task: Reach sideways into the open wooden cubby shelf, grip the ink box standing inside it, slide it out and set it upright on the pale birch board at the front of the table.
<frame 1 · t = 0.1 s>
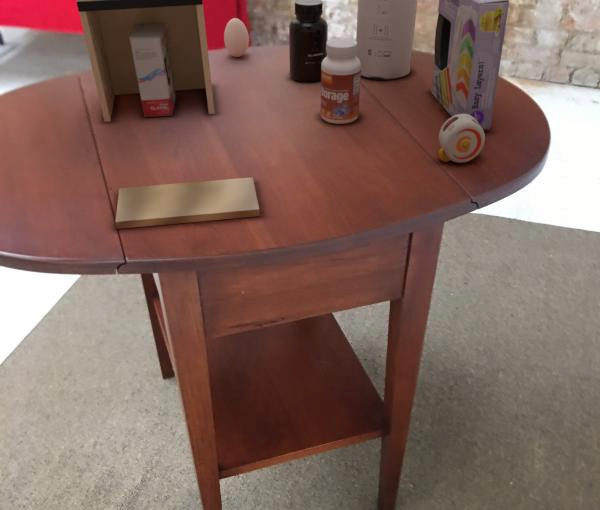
ink box: (160, 108, 107), on the table
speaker: (382, 72, 118), on the table
egg: (237, 57, 125), on the table
cake pan box: (456, 111, 104), on the table
supplement bottle: (308, 77, 117), on the table
roller toy: (458, 159, 92), on the table
pill bottle: (339, 118, 103), on the table
board: (188, 205, 83), on the table
wooden cubby shelf: (160, 103, 109), on the table
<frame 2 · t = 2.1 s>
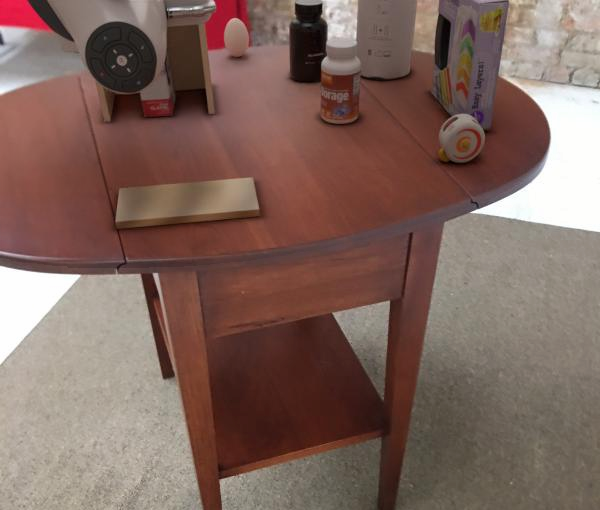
nothing on the table moved.
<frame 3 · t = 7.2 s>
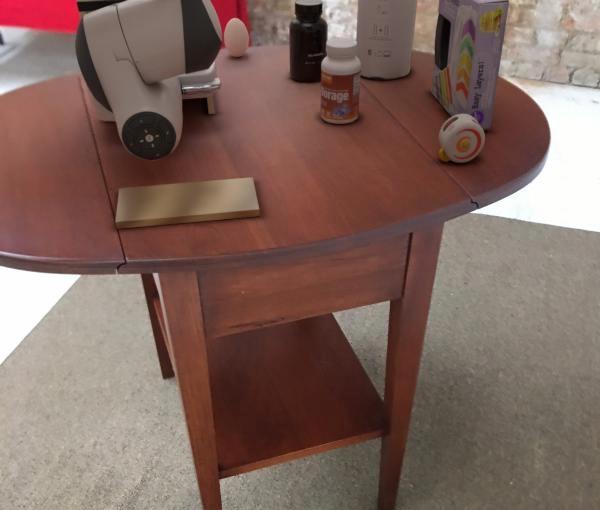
hand: (153, 63, 103), 7 cm above the table, tool horizontal, fingers closed on ink box, 5 cm apart
ink box: (160, 108, 107), on the table, touching gripper
everything else where it was.
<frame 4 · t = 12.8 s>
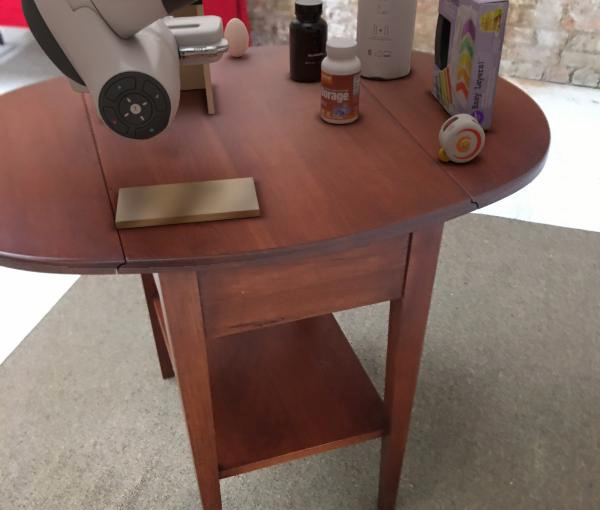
hand: (143, 24, 83), 17 cm above the table, tool horizontal, fingers closed on ink box, 5 cm apart
ink box: (153, 82, 87), point 10 cm above the table, touching gripper
everything else where it was.
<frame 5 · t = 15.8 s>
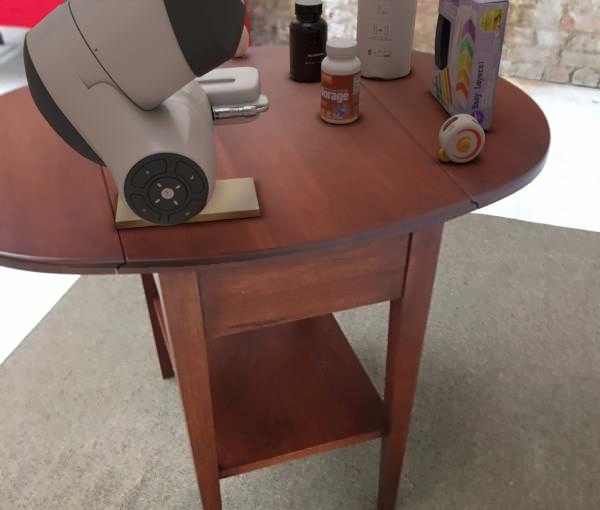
hand: (168, 74, 73), 16 cm above the table, tool horizontal, fingers closed on ink box, 5 cm apart
ink box: (178, 136, 77), point 9 cm above the table, touching gripper
everything else where it was.
when the fingers open (8 cm above the table, at t = 18.5 s): ink box stays where it is, resting on board.
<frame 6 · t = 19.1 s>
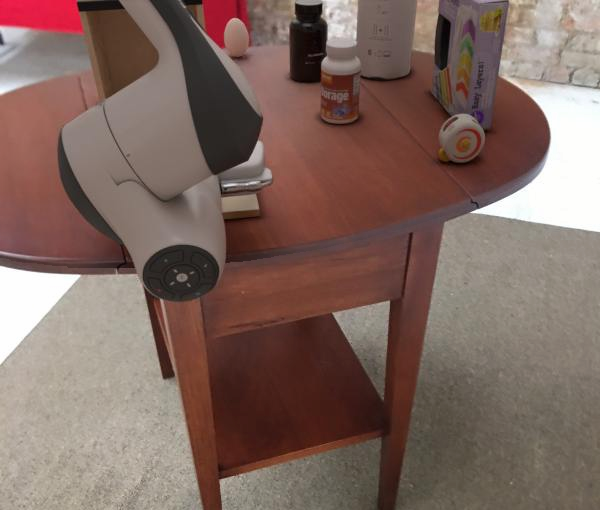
hand: (178, 142, 78), 8 cm above the table, tool horizontal, fingers open, 8 cm apart
ink box: (187, 200, 82), point 1 cm above the table, touching board
everything else where it was.
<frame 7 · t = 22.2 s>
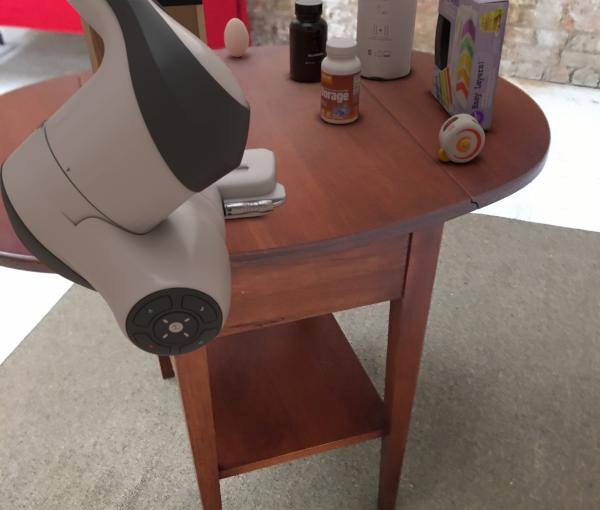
hand: (173, 151, 66), 12 cm above the table, tool horizontal, fingers open, 8 cm apart
nothing on the table moved.
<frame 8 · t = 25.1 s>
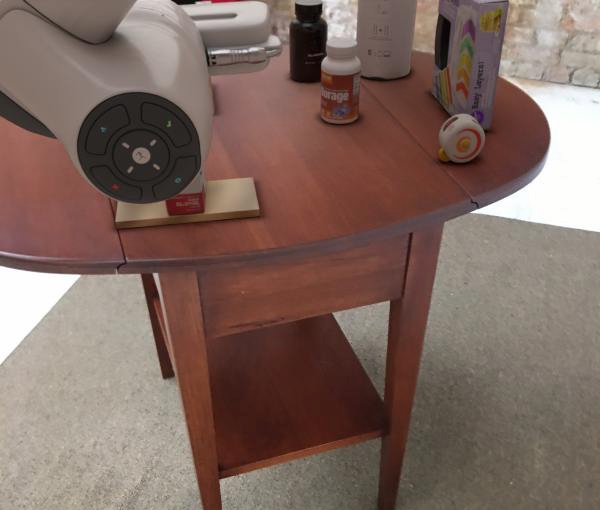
hand: (151, 14, 57), 25 cm above the table, tool horizontal, fingers open, 8 cm apart
nothing on the table moved.
at the end: ink box inside the target area on the board (0.1 cm from its centre), point 0.8 cm above the board's base; ink box tilted 0° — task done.
